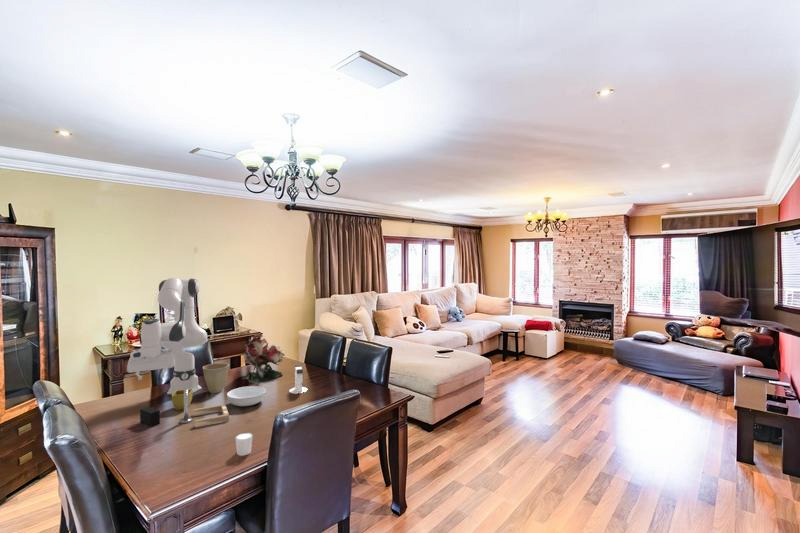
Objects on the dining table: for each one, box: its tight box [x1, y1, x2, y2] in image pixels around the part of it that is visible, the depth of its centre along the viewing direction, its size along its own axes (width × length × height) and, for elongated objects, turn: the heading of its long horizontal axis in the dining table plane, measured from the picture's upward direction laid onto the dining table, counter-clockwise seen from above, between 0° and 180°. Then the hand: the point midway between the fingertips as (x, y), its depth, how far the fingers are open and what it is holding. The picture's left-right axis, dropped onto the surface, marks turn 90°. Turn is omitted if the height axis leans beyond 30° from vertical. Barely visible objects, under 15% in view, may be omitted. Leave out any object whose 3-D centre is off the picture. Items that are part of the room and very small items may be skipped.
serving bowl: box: [226, 385, 267, 407], centre depth 221 cm, size 21×21×7 cm
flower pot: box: [171, 389, 194, 411], centre depth 213 cm, size 9×9×9 cm
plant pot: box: [202, 362, 230, 394], centre depth 241 cm, size 15×15×16 cm
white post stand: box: [289, 364, 309, 395], centre depth 242 cm, size 12×11×15 cm
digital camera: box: [139, 406, 161, 428], centre depth 194 cm, size 10×5×7 cm, turn 60°
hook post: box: [178, 390, 194, 425], centre depth 194 cm, size 10×6×16 cm, turn 31°
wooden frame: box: [192, 403, 230, 428], centre depth 200 cm, size 18×16×3 cm
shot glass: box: [235, 432, 254, 456], centre depth 165 cm, size 7×7×7 cm
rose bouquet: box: [242, 334, 286, 385], centre depth 272 cm, size 26×29×30 cm
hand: (151, 378), depth 194 cm, fingers open, 8 cm apart
